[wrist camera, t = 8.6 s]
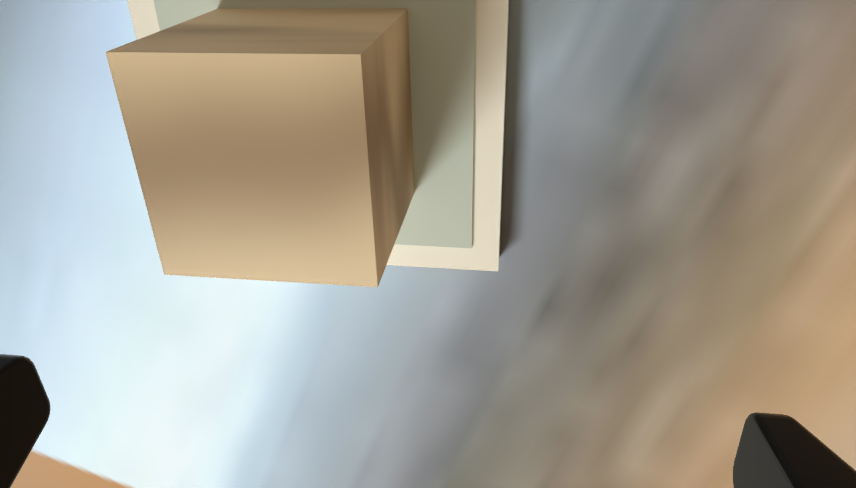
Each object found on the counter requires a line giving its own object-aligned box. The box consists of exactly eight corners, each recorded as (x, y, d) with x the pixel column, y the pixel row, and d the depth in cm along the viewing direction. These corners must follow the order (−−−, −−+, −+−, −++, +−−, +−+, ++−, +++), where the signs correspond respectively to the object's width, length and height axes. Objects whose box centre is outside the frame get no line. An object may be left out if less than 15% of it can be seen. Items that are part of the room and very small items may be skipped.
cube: (414, 192, 18) (377, 287, 14) (248, 186, 19) (164, 274, 15) (407, 8, 16) (361, 54, 12) (217, 8, 17) (105, 52, 12)
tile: (499, 257, 20) (497, 272, 19) (198, 241, 21) (185, 255, 21) (513, -108, 15) (512, -108, 14) (121, -99, 16) (101, -98, 16)
